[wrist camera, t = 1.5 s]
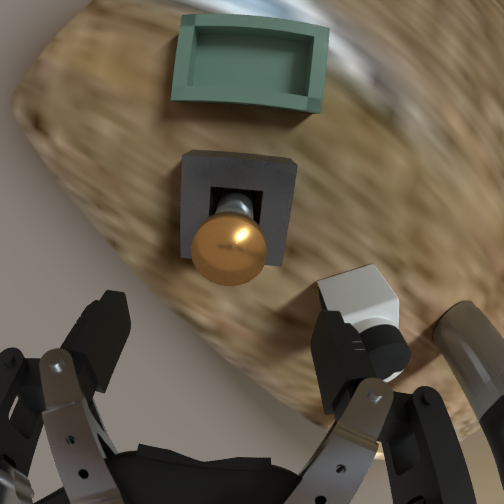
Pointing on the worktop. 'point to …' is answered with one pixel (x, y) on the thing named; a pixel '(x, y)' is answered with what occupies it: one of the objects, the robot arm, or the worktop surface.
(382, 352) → the medicine bottle
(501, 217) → the worktop surface
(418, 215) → the worktop surface
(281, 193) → the block
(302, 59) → the tray
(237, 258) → the brass-capped metal pin
